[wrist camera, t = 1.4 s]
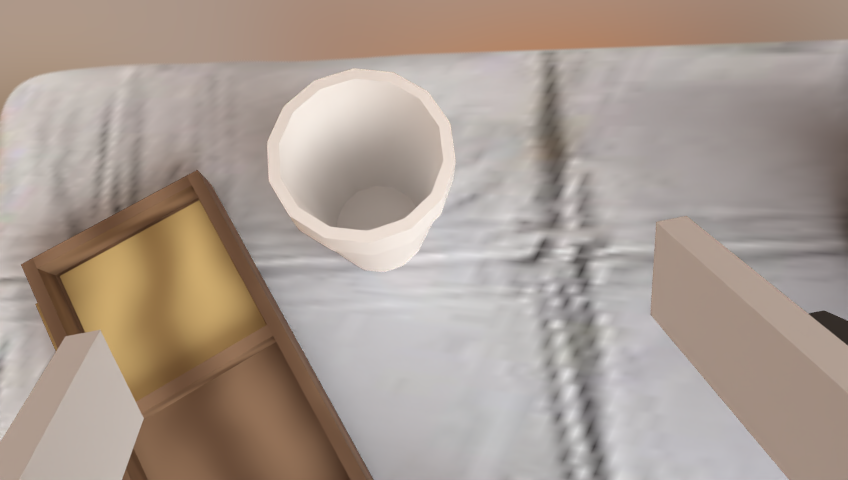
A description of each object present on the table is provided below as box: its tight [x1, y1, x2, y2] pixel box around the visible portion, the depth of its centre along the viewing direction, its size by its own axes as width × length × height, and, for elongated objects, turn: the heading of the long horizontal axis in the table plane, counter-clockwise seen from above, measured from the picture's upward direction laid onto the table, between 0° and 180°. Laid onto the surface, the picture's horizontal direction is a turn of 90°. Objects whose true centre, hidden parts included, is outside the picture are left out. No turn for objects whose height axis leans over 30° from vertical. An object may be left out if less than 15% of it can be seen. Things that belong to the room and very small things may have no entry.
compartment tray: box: [21, 170, 373, 480], centre depth 38 cm, size 13×24×3 cm, turn 31°
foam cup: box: [267, 68, 456, 272], centre depth 36 cm, size 10×9×13 cm
